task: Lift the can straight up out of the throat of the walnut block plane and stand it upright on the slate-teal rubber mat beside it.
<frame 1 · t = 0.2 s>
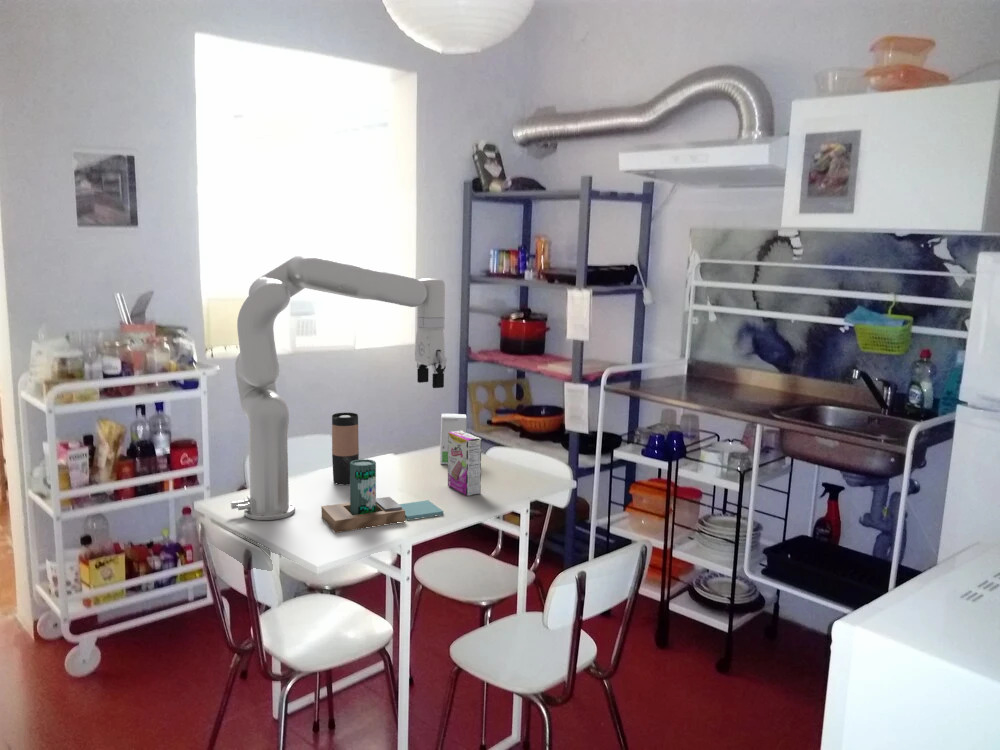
hand: (430, 384, 219), 31 cm above the table, tool pointing down, fingers open, 9 cm apart
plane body: (363, 519, 199), on the table
can: (363, 520, 199), resting in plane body
candy bar box: (463, 491, 226), on the table
rubber mat: (418, 511, 206), on the table
travel mug: (345, 482, 232), on the table
skincare box: (452, 462, 256), on the table
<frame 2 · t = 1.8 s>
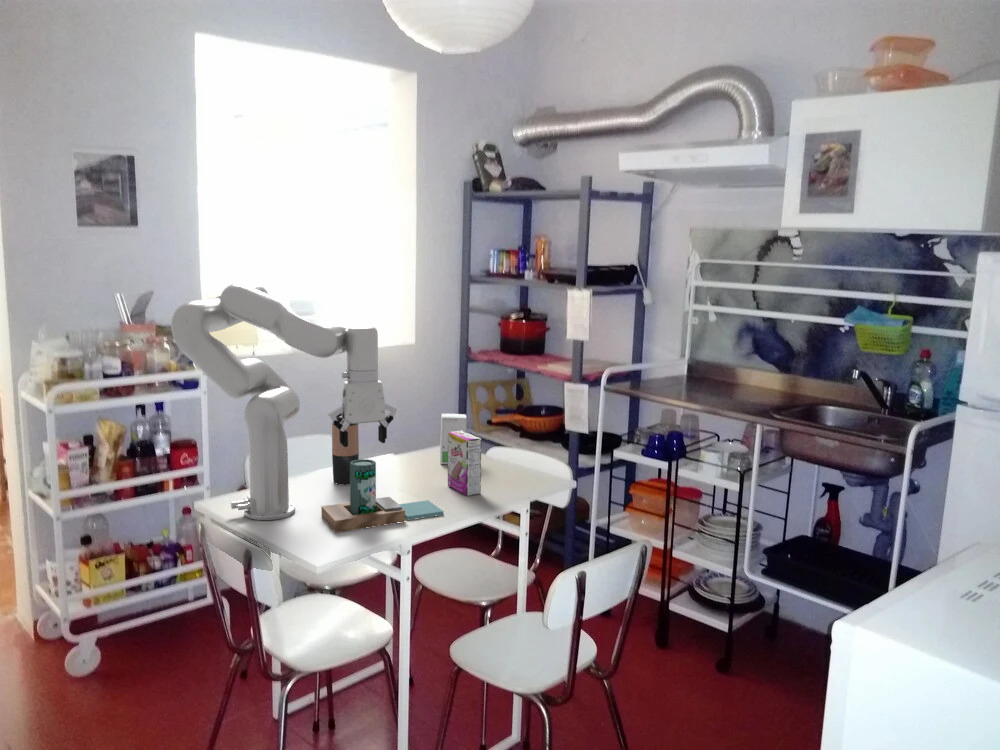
hand: (363, 443, 196), 20 cm above the table, tool pointing down, fingers open, 9 cm apart
nothing on the table moved.
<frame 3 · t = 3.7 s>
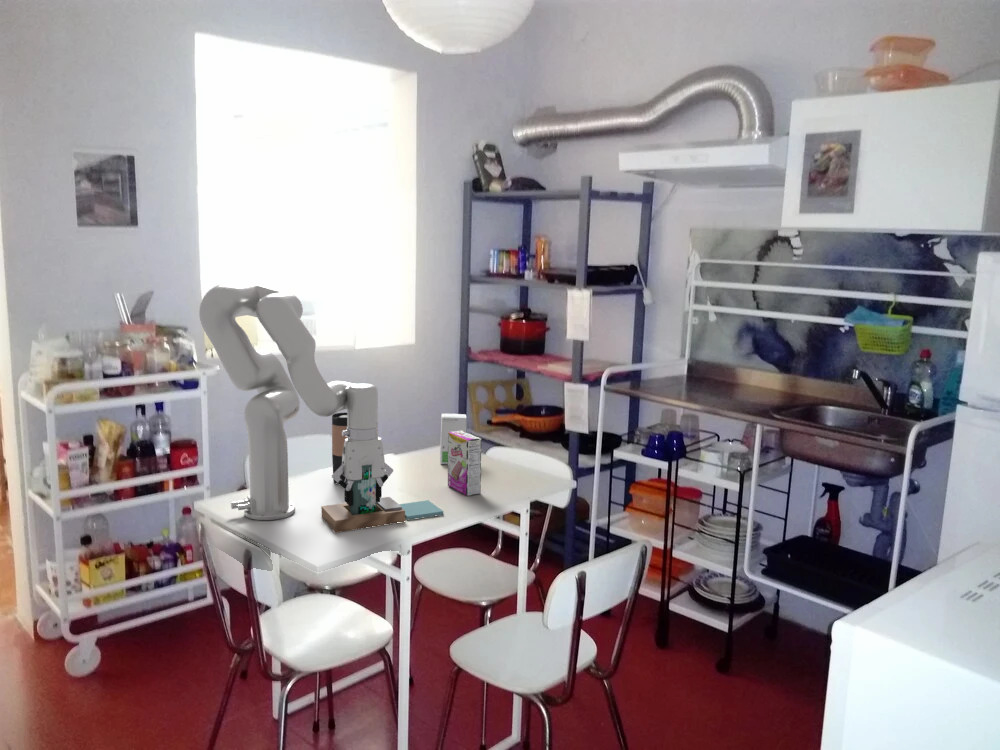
hand: (363, 502, 199), 5 cm above the table, tool pointing down, fingers closed on can, 6 cm apart
can: (363, 520, 199), resting in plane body, touching gripper
everything else where it was.
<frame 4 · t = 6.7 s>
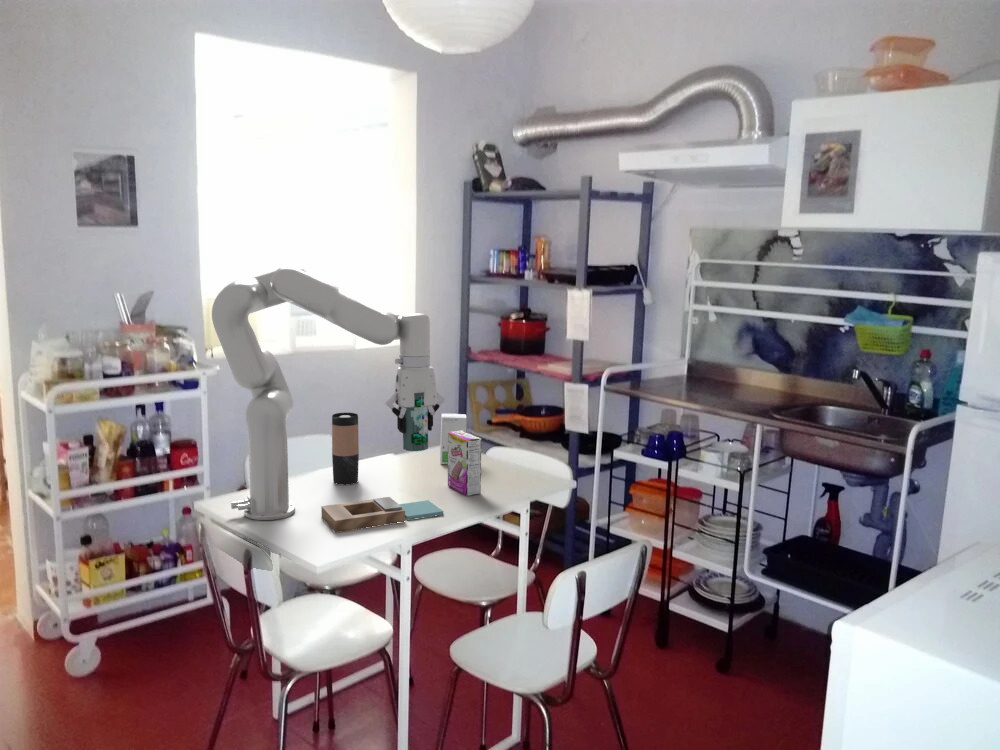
hand: (415, 430, 202), 22 cm above the table, tool pointing down, fingers closed on can, 6 cm apart
can: (415, 448, 203), point 17 cm above the table, touching gripper
everything else where it was.
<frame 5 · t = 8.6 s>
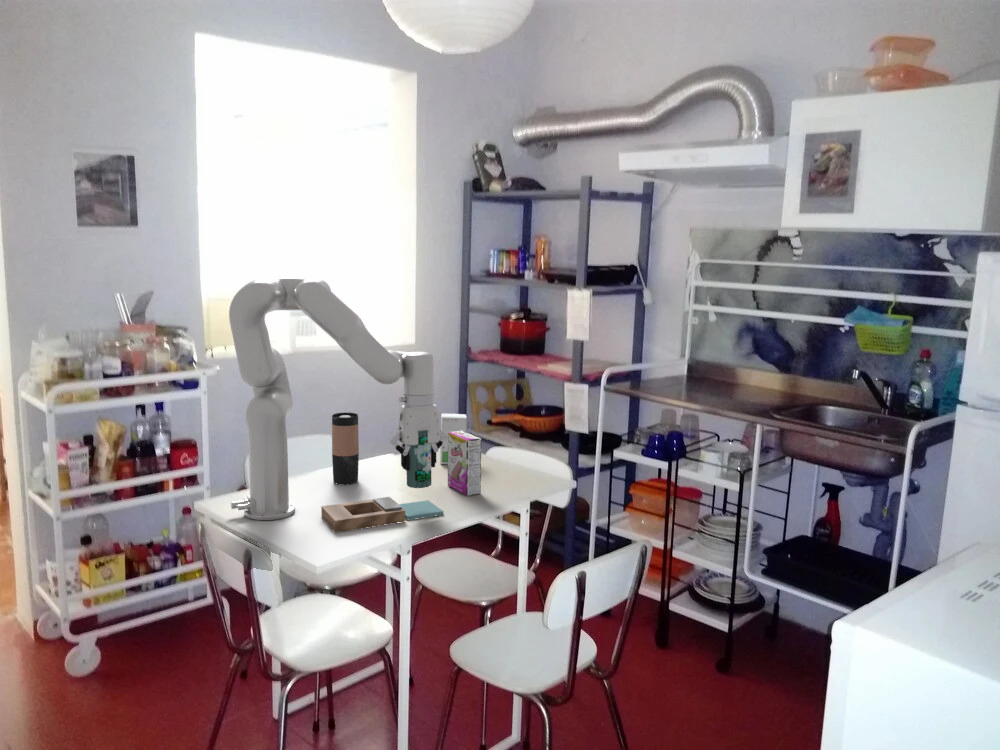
hand: (418, 467, 204), 12 cm above the table, tool pointing down, fingers closed on can, 6 cm apart
can: (419, 485, 205), point 7 cm above the table, touching gripper
everything else where it was.
when the fingers open (7 cm above the table, at t = 10.1 s): can drops 1 cm, resting on rubber mat.
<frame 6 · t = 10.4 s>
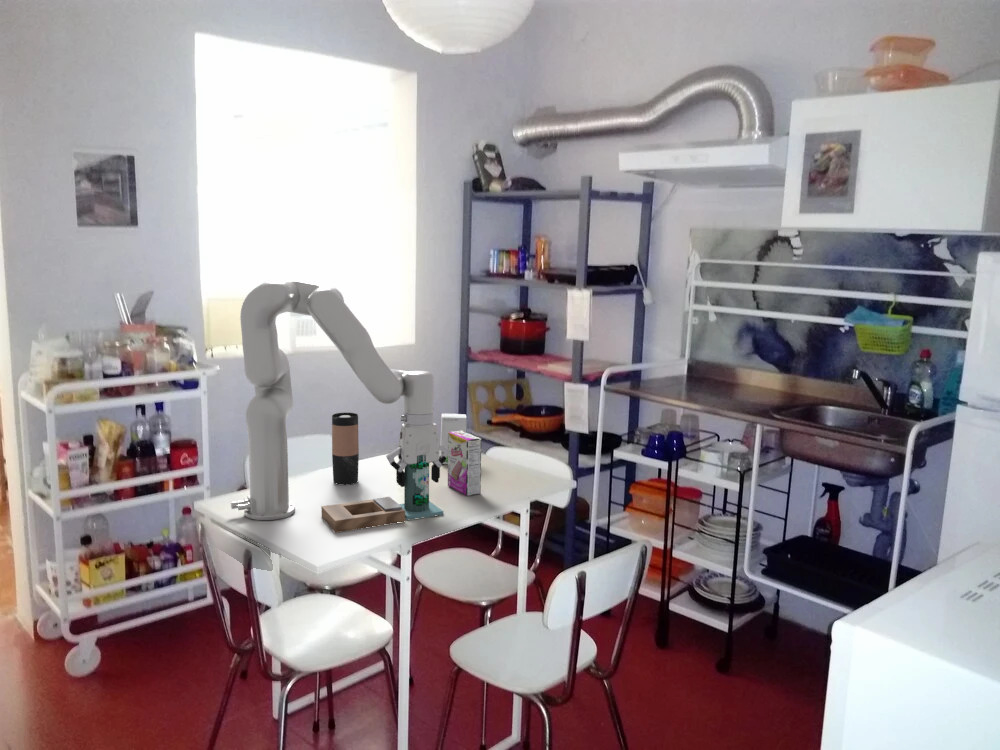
hand: (418, 483, 205), 8 cm above the table, tool pointing down, fingers open, 9 cm apart
can: (416, 508, 206), point 1 cm above the table, touching rubber mat
everything else where it was.
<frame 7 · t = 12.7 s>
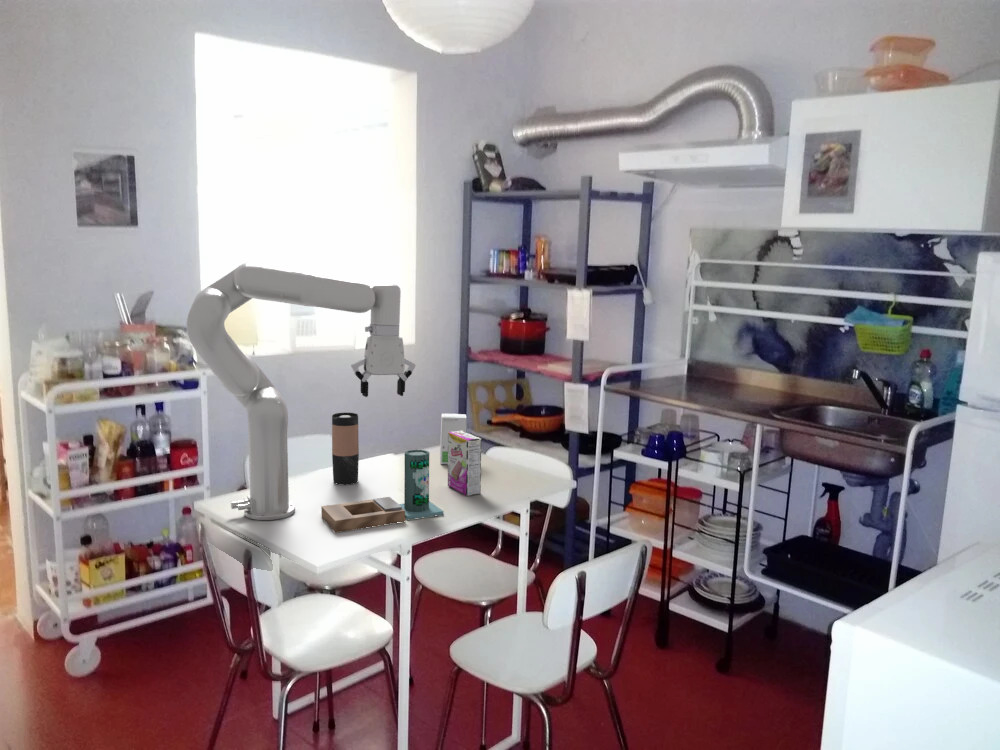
hand: (382, 395, 208), 30 cm above the table, tool pointing down, fingers open, 9 cm apart
nothing on the table moved.
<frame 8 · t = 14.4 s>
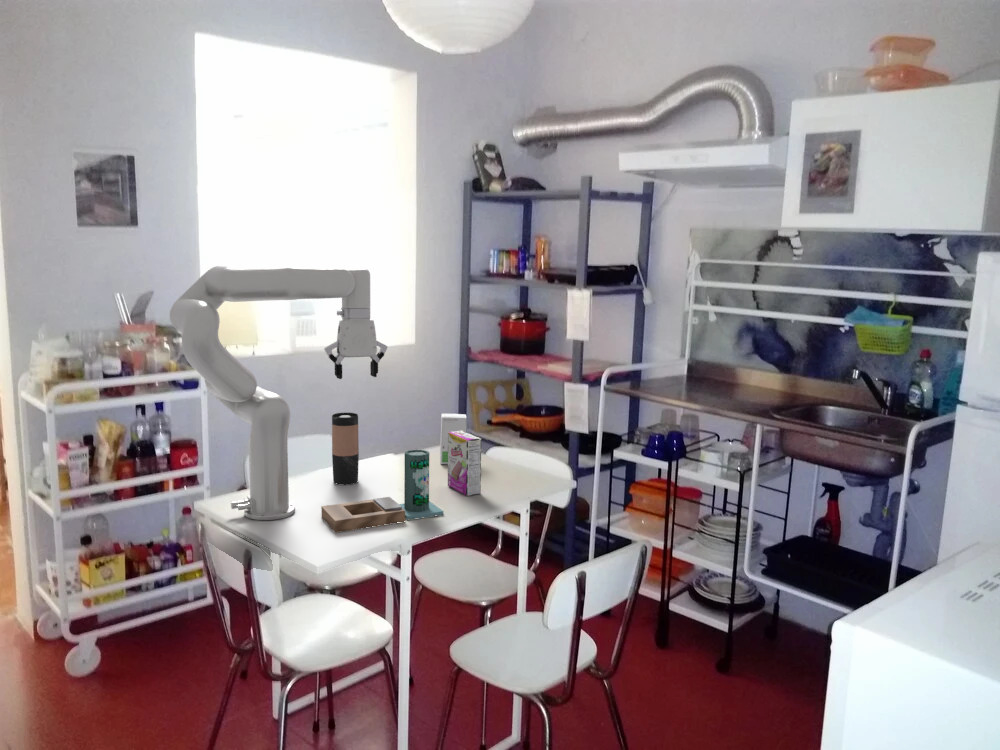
hand: (356, 377, 214), 33 cm above the table, tool pointing down, fingers open, 9 cm apart
nothing on the table moved.
at the end: can inside the target area on the rubber mat (0.4 cm from its centre), point 0.8 cm above the rubber mat's base; can tilted 0°; the gripper is holding nothing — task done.
